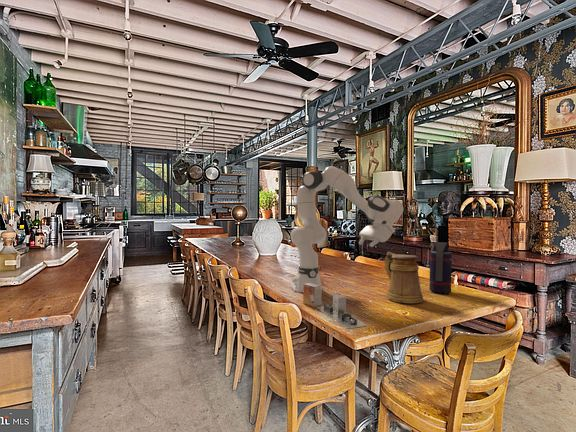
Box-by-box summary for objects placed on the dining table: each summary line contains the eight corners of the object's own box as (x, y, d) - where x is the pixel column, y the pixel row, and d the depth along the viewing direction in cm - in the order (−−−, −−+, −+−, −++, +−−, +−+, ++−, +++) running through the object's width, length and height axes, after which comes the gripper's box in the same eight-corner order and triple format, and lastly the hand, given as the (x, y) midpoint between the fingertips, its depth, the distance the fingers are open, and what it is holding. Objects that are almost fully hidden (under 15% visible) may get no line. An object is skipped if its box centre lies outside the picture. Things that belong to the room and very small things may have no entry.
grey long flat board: (315, 307, 166) (315, 301, 166) (333, 305, 170) (333, 299, 169) (346, 328, 138) (346, 320, 138) (367, 325, 142) (367, 317, 141)
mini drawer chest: (332, 314, 155) (332, 295, 155) (340, 313, 157) (340, 294, 157) (337, 317, 151) (337, 298, 150) (346, 316, 152) (346, 297, 152)
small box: (303, 303, 173) (303, 283, 173) (310, 301, 177) (310, 282, 176) (314, 307, 167) (314, 286, 167) (321, 305, 171) (321, 284, 171)
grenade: (430, 288, 206) (431, 240, 205) (452, 291, 200) (453, 241, 199) (427, 293, 194) (428, 242, 193) (449, 296, 188) (451, 244, 187)
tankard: (410, 306, 169) (411, 258, 168) (373, 296, 188) (374, 252, 187) (429, 301, 179) (430, 255, 179) (393, 291, 198) (393, 250, 198)
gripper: (366, 220, 181) (350, 238, 178) (390, 222, 162) (373, 242, 159) (373, 228, 183) (357, 246, 180) (397, 231, 164) (380, 251, 161)
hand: (365, 245), depth 169 cm, fingers open, 8 cm apart
